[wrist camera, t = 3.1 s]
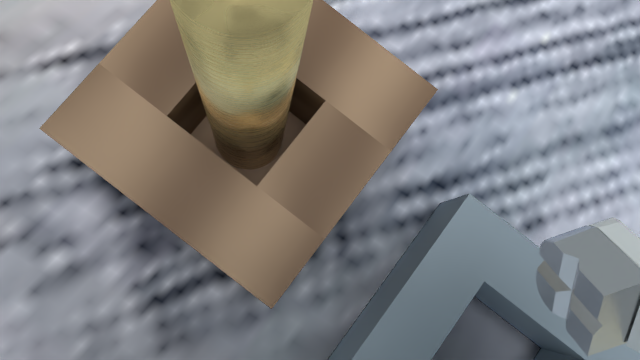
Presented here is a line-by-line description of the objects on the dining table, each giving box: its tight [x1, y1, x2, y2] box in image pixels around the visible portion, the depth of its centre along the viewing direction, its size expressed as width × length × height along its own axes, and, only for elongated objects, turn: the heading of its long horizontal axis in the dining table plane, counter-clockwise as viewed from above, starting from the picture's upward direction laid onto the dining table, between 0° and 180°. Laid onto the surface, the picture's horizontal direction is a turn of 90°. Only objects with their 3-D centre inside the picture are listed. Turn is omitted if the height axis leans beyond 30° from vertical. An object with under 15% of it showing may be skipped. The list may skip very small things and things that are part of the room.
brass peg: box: [170, 0, 313, 170], centre depth 19 cm, size 3×3×16 cm
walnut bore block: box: [39, 0, 438, 309], centre depth 25 cm, size 11×11×6 cm
